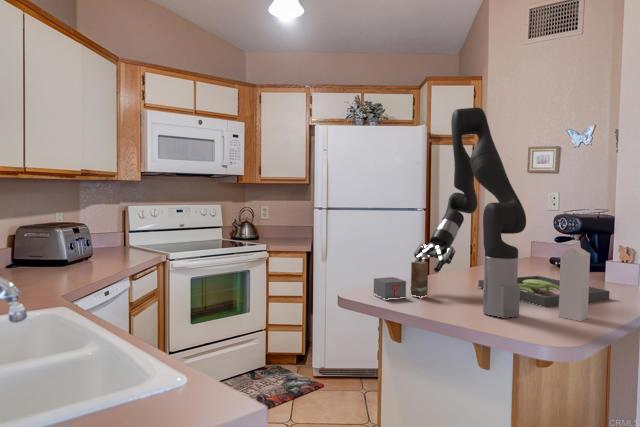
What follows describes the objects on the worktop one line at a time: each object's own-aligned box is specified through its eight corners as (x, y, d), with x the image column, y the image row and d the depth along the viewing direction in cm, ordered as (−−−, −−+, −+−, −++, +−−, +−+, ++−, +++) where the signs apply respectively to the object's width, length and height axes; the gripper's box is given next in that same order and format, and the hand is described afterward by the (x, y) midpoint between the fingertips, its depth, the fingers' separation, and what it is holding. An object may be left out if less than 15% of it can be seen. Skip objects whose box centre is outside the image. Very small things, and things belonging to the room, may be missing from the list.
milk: (587, 318, 130) (591, 242, 129) (580, 321, 126) (584, 244, 125) (565, 313, 134) (568, 240, 133) (557, 317, 130) (561, 242, 129)
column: (427, 297, 154) (428, 262, 153) (420, 298, 151) (421, 263, 151) (417, 295, 157) (418, 261, 157) (410, 296, 154) (411, 262, 154)
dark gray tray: (609, 299, 153) (609, 291, 153) (543, 306, 142) (544, 297, 142) (537, 283, 181) (537, 275, 181) (478, 288, 170) (478, 280, 170)
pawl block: (406, 299, 151) (406, 281, 150) (385, 300, 148) (385, 282, 148) (393, 293, 158) (393, 277, 158) (373, 295, 156) (373, 278, 155)
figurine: (518, 303, 149) (519, 286, 148) (499, 286, 175) (499, 272, 175) (578, 305, 146) (579, 288, 146) (549, 288, 172) (549, 274, 172)
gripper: (424, 226, 166) (404, 259, 159) (458, 229, 156) (438, 265, 149) (432, 239, 170) (413, 273, 163) (465, 243, 160) (447, 278, 152)
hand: (425, 269), depth 156 cm, fingers open, 8 cm apart
